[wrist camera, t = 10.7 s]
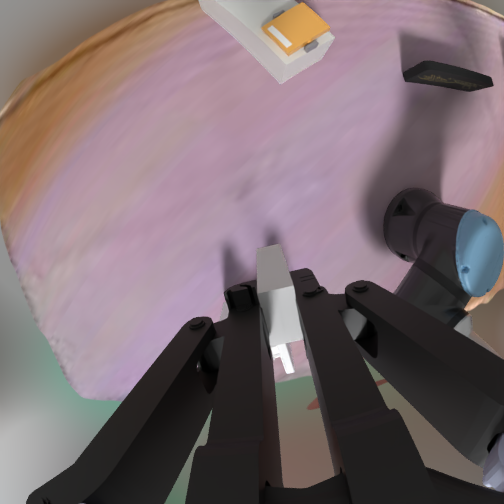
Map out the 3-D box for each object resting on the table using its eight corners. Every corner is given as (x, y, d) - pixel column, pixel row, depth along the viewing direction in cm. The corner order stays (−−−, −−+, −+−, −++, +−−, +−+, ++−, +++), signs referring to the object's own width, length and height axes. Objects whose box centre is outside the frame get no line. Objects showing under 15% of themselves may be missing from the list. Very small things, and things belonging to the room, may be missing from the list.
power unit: (280, 84, 42) (287, 60, 31) (201, 10, 37) (190, -21, 26) (322, 58, 40) (339, 32, 29) (243, -13, 35) (240, -45, 24)
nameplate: (467, 84, 39) (493, 77, 29) (468, 92, 39) (495, 85, 30) (401, 73, 40) (425, 59, 31) (403, 81, 41) (428, 69, 31)
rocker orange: (289, 57, 32) (288, 54, 31) (261, 30, 31) (259, 26, 29) (330, 31, 29) (331, 27, 27) (301, 5, 28) (301, 0, 26)
